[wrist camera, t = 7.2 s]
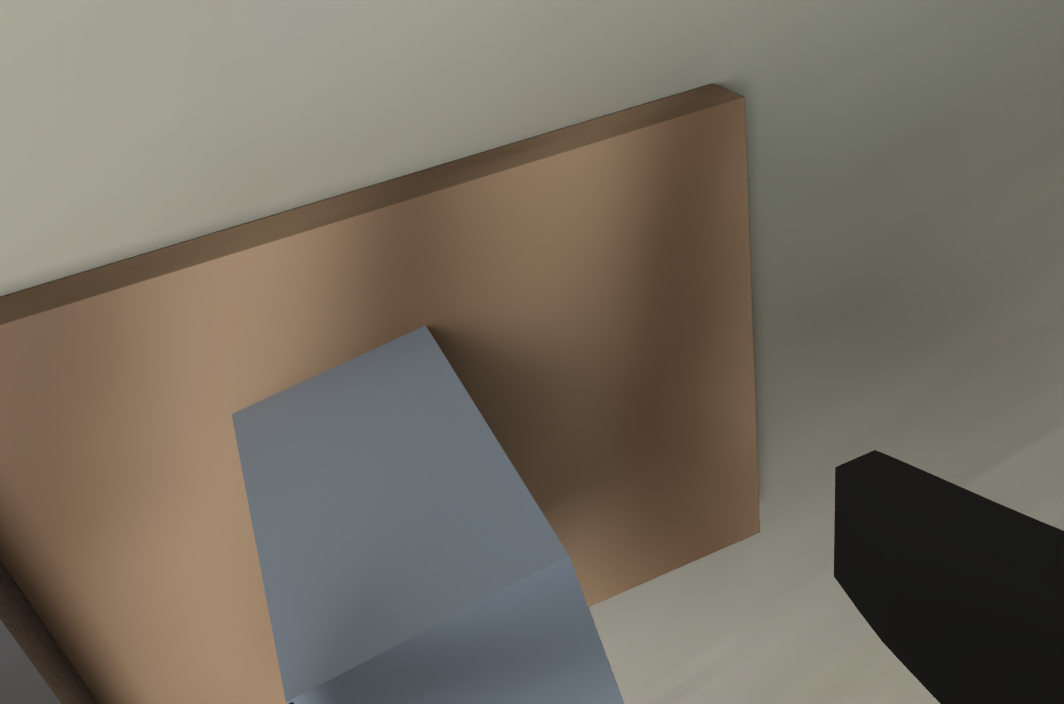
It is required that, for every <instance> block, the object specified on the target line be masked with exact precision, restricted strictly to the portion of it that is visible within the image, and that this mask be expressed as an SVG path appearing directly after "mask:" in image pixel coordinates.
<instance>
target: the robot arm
mask: <svg viewBox="0 0 1064 704" xmlns="http://www.w3.org/2000/svg"><path fill="white" fill-rule="evenodd" d="M834 577H835V578H836V580H837V581H838V582H839V584H840V585H841V587H842V588H843V589H844V591H845V592H846V594H847V595H848V596H849V598H850V599H851V600H852V602H853V603H854V605H855V606H856V607H857V609H858V610H859V612H860V613H861V614H862V616H863V617H864V618H865V619H866V621H867V622H868V623H869V625H870V626H871V627H872V629H873V630H874V631H875V632H876V634H877V635H878V636H879V638H880V639H881V640H882V642H883V643H884V644H885V645H886V646H887V647H888V648H889V649H890V650H891V651H892V652H893V654H894V655H895V656H896V657H897V658H898V659H899V660H900V661H901V662H902V663H903V664H904V665H905V666H906V668H907V669H908V670H909V671H910V672H911V673H912V674H913V675H914V676H915V677H916V678H917V679H918V680H919V681H920V682H921V683H922V685H923V686H924V687H925V688H926V689H927V690H928V691H929V692H930V693H931V694H932V695H933V696H934V697H935V698H936V699H937V700H938V701H939V702H940V704H1064V531H1062V530H1060V529H1057V528H1055V527H1053V526H1050V525H1048V524H1045V523H1043V522H1040V521H1038V520H1036V519H1033V518H1031V517H1028V516H1026V515H1024V514H1021V513H1019V512H1017V511H1014V510H1012V509H1010V508H1007V507H1005V506H1003V505H1000V504H998V503H996V502H993V501H991V500H989V499H986V498H984V497H982V496H980V495H977V494H975V493H973V492H970V491H968V490H966V489H964V488H961V487H959V486H957V485H955V484H952V483H950V482H948V481H945V480H943V479H941V478H939V477H936V476H934V475H932V474H930V473H927V472H925V471H923V470H921V469H918V468H916V467H914V466H911V465H909V464H907V463H905V462H902V461H900V460H898V459H895V458H893V457H890V456H888V455H886V454H883V453H881V452H878V451H876V450H874V451H872V452H870V453H867V454H865V455H863V456H860V457H858V458H856V459H853V460H851V461H849V462H847V463H844V464H842V465H840V466H837V467H836V472H835V542H834ZM289 704H294V703H293V702H291V703H289Z"/></svg>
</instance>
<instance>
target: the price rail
mask: <svg viewBox="0 0 1064 704" xmlns="http://www.w3.org/2000/svg"><path fill="white" fill-rule="evenodd" d="M0 704H99V703H98V701H97V700H96V698H95V697H94V695H93V694H92V692H91V691H90V689H89V688H88V686H87V685H86V684H85V682H84V681H83V679H82V678H81V676H80V675H79V673H78V672H77V670H76V669H75V667H74V666H73V664H72V663H71V662H70V660H69V659H68V657H67V656H66V654H65V653H64V651H63V650H62V648H61V647H60V645H59V644H58V643H57V641H56V640H55V638H54V637H53V635H52V634H51V632H50V631H49V629H48V628H47V626H46V625H45V623H44V622H43V621H42V619H41V618H40V616H39V615H38V613H37V612H36V610H35V609H34V607H33V606H32V604H31V603H30V602H29V600H28V599H27V597H26V596H25V594H24V593H23V591H22V590H21V588H20V587H19V585H18V584H17V582H16V581H15V580H14V578H13V577H12V575H11V574H10V572H9V571H8V569H7V568H6V566H5V565H4V563H3V562H2V561H1V559H0Z"/></svg>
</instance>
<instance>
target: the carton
mask: <svg viewBox="0 0 1064 704" xmlns="http://www.w3.org/2000/svg"><path fill="white" fill-rule="evenodd" d="M232 420H233V425H234V430H235V436H236V441H237V446H238V452H239V457H240V462H241V467H242V473H243V478H244V483H245V489H246V494H247V499H248V505H249V510H250V515H251V520H252V526H253V531H254V536H255V542H256V547H257V552H258V558H259V563H260V568H261V574H262V579H263V584H264V589H265V595H266V600H267V605H268V611H269V616H270V621H271V627H272V632H273V637H274V643H275V648H276V653H277V658H278V664H279V669H280V674H281V680H282V685H283V690H284V696H285V701H286V704H289V703H291V702H293V703H294V704H624V702H623V699H622V696H621V694H620V691H619V688H618V686H617V683H616V680H615V678H614V675H613V672H612V670H611V667H610V664H609V661H608V659H607V656H606V653H605V651H604V648H603V645H602V643H601V640H600V637H599V635H598V632H597V629H596V626H595V624H594V621H593V618H592V616H591V613H590V610H589V608H588V605H587V602H586V600H585V597H584V594H583V592H582V589H581V586H580V583H579V581H578V578H577V575H576V573H575V570H574V567H573V565H572V562H571V559H570V557H569V555H568V553H567V551H566V550H565V548H564V547H563V545H562V543H561V542H560V540H559V539H558V537H557V535H556V534H555V532H554V530H553V529H552V527H551V526H550V524H549V522H548V521H547V519H546V518H545V516H544V514H543V513H542V511H541V510H540V508H539V506H538V505H537V503H536V502H535V500H534V498H533V497H532V495H531V494H530V492H529V490H528V489H527V487H526V486H525V484H524V482H523V481H522V479H521V478H520V476H519V474H518V473H517V471H516V469H515V468H514V466H513V465H512V463H511V461H510V460H509V458H508V457H507V455H506V453H505V452H504V450H503V449H502V447H501V445H500V444H499V442H498V441H497V439H496V437H495V436H494V434H493V433H492V431H491V429H490V428H489V426H488V425H487V423H486V421H485V420H484V418H483V417H482V415H481V413H480V412H479V410H478V409H477V407H476V405H475V404H474V402H473V400H472V399H471V397H470V396H469V394H468V392H467V391H466V389H465V388H464V386H463V384H462V383H461V381H460V380H459V378H458V376H457V375H456V373H455V372H454V370H453V368H452V367H451V365H450V364H449V362H448V360H447V359H446V357H445V356H444V354H443V352H442V351H441V349H440V348H439V346H438V344H437V343H436V341H435V339H434V338H433V336H432V335H431V333H430V331H429V330H428V328H427V327H426V325H425V326H423V327H421V328H419V329H417V330H414V331H412V332H410V333H408V334H406V335H404V336H401V337H399V338H397V339H395V340H393V341H390V342H388V343H386V344H384V345H382V346H380V347H377V348H375V349H373V350H371V351H369V352H366V353H364V354H362V355H360V356H358V357H356V358H353V359H351V360H349V361H347V362H345V363H342V364H340V365H338V366H336V367H334V368H332V369H329V370H327V371H325V372H323V373H321V374H318V375H316V376H314V377H312V378H310V379H308V380H305V381H303V382H301V383H299V384H297V385H294V386H292V387H290V388H288V389H286V390H284V391H281V392H279V393H277V394H275V395H273V396H270V397H268V398H266V399H264V400H262V401H259V402H257V403H255V404H253V405H251V406H249V407H246V408H244V409H242V410H240V411H238V412H235V413H233V414H232Z"/></svg>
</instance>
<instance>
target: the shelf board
mask: <svg viewBox="0 0 1064 704" xmlns="http://www.w3.org/2000/svg"><path fill="white" fill-rule="evenodd" d="M425 325H426V327H427V328H428V330H429V331H430V333H431V335H432V336H433V338H434V339H435V341H436V343H437V344H438V346H439V348H440V349H441V351H442V352H443V354H444V356H445V357H446V359H447V360H448V362H449V364H450V365H451V367H452V368H453V370H454V372H455V373H456V375H457V376H458V378H459V380H460V381H461V383H462V384H463V386H464V388H465V389H466V391H467V392H468V394H469V396H470V397H471V399H472V400H473V402H474V404H475V405H476V407H477V409H478V410H479V412H480V413H481V415H482V417H483V418H484V420H485V421H486V423H487V425H488V426H489V428H490V429H491V431H492V433H493V434H494V436H495V437H496V439H497V441H498V442H499V444H500V445H501V447H502V449H503V450H504V452H505V453H506V455H507V457H508V458H509V460H510V461H511V463H512V465H513V466H514V468H515V469H516V471H517V473H518V474H519V476H520V478H521V479H522V481H523V482H524V484H525V486H526V487H527V489H528V490H529V492H530V494H531V495H532V497H533V498H534V500H535V502H536V503H537V505H538V506H539V508H540V510H541V511H542V513H543V514H544V516H545V518H546V519H547V521H548V522H549V524H550V526H551V527H552V529H553V530H554V532H555V534H556V535H557V537H558V539H559V540H560V542H561V543H562V545H563V547H564V548H565V550H566V551H567V553H568V555H569V557H570V559H571V562H572V565H573V567H574V570H575V573H576V575H577V578H578V581H579V583H580V586H581V589H582V592H583V594H584V597H585V600H586V602H587V605H588V607H589V606H592V605H594V604H596V603H599V602H601V601H603V600H606V599H608V598H610V597H612V596H615V595H617V594H619V593H622V592H624V591H626V590H628V589H631V588H633V587H635V586H638V585H640V584H642V583H645V582H647V581H649V580H651V579H654V578H656V577H658V576H661V575H663V574H665V573H668V572H670V571H672V570H674V569H677V568H679V567H681V566H684V565H686V564H688V563H690V562H693V561H695V560H697V559H700V558H702V557H704V556H707V555H709V554H711V553H713V552H716V551H718V550H720V549H723V548H725V547H727V546H729V545H732V544H734V543H736V542H739V541H741V540H743V539H746V538H748V537H750V536H752V535H755V534H757V533H759V532H760V519H759V491H758V462H757V434H756V406H755V377H754V349H753V320H752V292H751V263H750V235H749V206H748V178H747V149H746V121H745V97H744V96H741V95H739V94H736V93H734V92H731V91H729V90H727V89H724V88H722V87H719V86H717V85H715V84H710V85H707V86H703V87H700V88H697V89H693V90H690V91H687V92H683V93H680V94H677V95H673V96H670V97H667V98H663V99H660V100H657V101H653V102H650V103H647V104H643V105H640V106H637V107H633V108H630V109H627V110H623V111H620V112H617V113H613V114H610V115H607V116H603V117H600V118H597V119H593V120H590V121H587V122H583V123H580V124H577V125H573V126H570V127H567V128H563V129H560V130H557V131H553V132H550V133H547V134H543V135H540V136H537V137H533V138H530V139H527V140H523V141H520V142H517V143H513V144H510V145H507V146H503V147H500V148H496V149H493V150H490V151H486V152H483V153H480V154H476V155H473V156H470V157H466V158H463V159H460V160H456V161H453V162H450V163H446V164H443V165H440V166H436V167H433V168H430V169H426V170H423V171H420V172H416V173H413V174H410V175H406V176H403V177H400V178H396V179H393V180H390V181H386V182H383V183H380V184H376V185H373V186H370V187H366V188H363V189H360V190H356V191H353V192H350V193H346V194H343V195H340V196H336V197H333V198H330V199H326V200H323V201H320V202H316V203H313V204H310V205H306V206H303V207H300V208H296V209H293V210H290V211H286V212H283V213H280V214H276V215H273V216H270V217H266V218H263V219H260V220H256V221H253V222H250V223H246V224H243V225H240V226H236V227H233V228H230V229H226V230H223V231H220V232H216V233H213V234H210V235H206V236H203V237H200V238H196V239H193V240H190V241H186V242H183V243H180V244H176V245H173V246H170V247H166V248H163V249H160V250H156V251H153V252H150V253H146V254H143V255H140V256H136V257H133V258H129V259H126V260H123V261H119V262H116V263H113V264H109V265H106V266H103V267H99V268H96V269H93V270H89V271H86V272H83V273H79V274H76V275H73V276H69V277H66V278H63V279H59V280H56V281H53V282H49V283H46V284H43V285H39V286H36V287H33V288H29V289H26V290H23V291H19V292H16V293H13V294H9V295H6V296H3V297H0V559H1V561H2V562H3V563H4V565H5V566H6V568H7V569H8V571H9V572H10V574H11V575H12V577H13V578H14V580H15V581H16V582H17V584H18V585H19V587H20V588H21V590H22V591H23V593H24V594H25V596H26V597H27V599H28V600H29V602H30V603H31V604H32V606H33V607H34V609H35V610H36V612H37V613H38V615H39V616H40V618H41V619H42V621H43V622H44V623H45V625H46V626H47V628H48V629H49V631H50V632H51V634H52V635H53V637H54V638H55V640H56V641H57V643H58V644H59V645H60V647H61V648H62V650H63V651H64V653H65V654H66V656H67V657H68V659H69V660H70V662H71V663H72V664H73V666H74V667H75V669H76V670H77V672H78V673H79V675H80V676H81V678H82V679H83V681H84V682H85V684H86V685H87V686H88V688H89V689H90V691H91V692H92V694H93V695H94V697H95V698H96V700H97V701H98V703H99V704H286V701H285V696H284V690H283V685H282V680H281V674H280V669H279V664H278V658H277V653H276V648H275V643H274V637H273V632H272V627H271V621H270V616H269V611H268V605H267V600H266V595H265V589H264V584H263V579H262V574H261V568H260V563H259V558H258V552H257V547H256V542H255V536H254V531H253V526H252V520H251V515H250V510H249V505H248V499H247V494H246V489H245V483H244V478H243V473H242V467H241V462H240V457H239V452H238V446H237V441H236V436H235V430H234V425H233V420H232V414H233V413H235V412H238V411H240V410H242V409H244V408H246V407H249V406H251V405H253V404H255V403H257V402H259V401H262V400H264V399H266V398H268V397H270V396H273V395H275V394H277V393H279V392H281V391H284V390H286V389H288V388H290V387H292V386H294V385H297V384H299V383H301V382H303V381H305V380H308V379H310V378H312V377H314V376H316V375H318V374H321V373H323V372H325V371H327V370H329V369H332V368H334V367H336V366H338V365H340V364H342V363H345V362H347V361H349V360H351V359H353V358H356V357H358V356H360V355H362V354H364V353H366V352H369V351H371V350H373V349H375V348H377V347H380V346H382V345H384V344H386V343H388V342H390V341H393V340H395V339H397V338H399V337H401V336H404V335H406V334H408V333H410V332H412V331H414V330H417V329H419V328H421V327H423V326H425Z"/></svg>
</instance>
